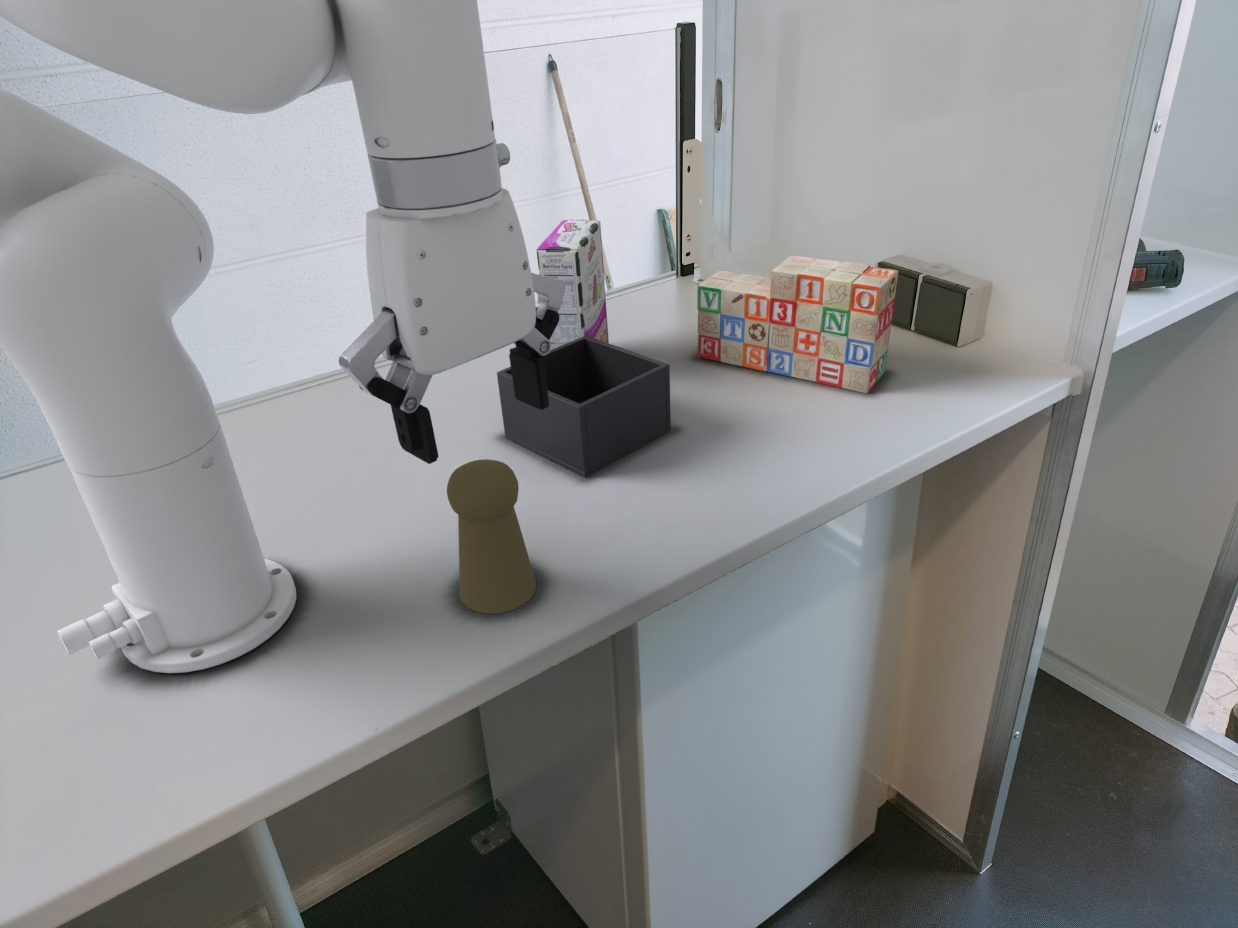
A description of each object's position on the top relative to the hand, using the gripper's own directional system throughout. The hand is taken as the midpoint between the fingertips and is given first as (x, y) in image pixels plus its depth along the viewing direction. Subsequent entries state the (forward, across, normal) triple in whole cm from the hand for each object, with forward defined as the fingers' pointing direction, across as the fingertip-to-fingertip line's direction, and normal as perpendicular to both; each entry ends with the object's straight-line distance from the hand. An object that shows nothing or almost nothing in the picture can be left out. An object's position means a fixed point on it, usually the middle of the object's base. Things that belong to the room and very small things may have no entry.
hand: (479, 428), depth 60 cm
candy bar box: (+15, -32, -26) cm, 44 cm away
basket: (+14, -22, -13) cm, 29 cm away
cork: (+14, 0, 0) cm, 15 cm away
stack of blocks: (+15, -48, -7) cm, 51 cm away
